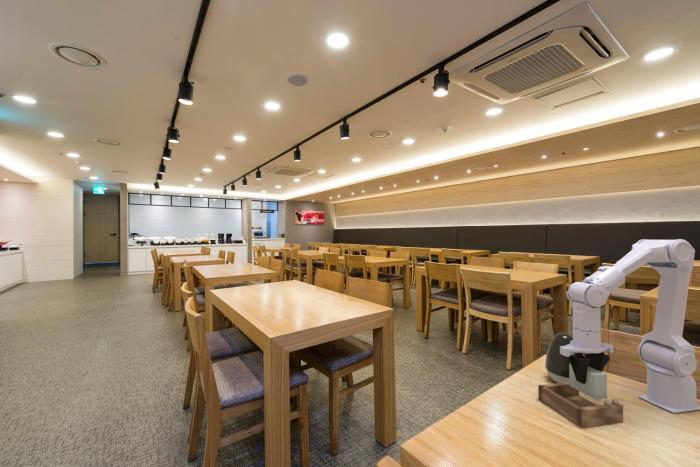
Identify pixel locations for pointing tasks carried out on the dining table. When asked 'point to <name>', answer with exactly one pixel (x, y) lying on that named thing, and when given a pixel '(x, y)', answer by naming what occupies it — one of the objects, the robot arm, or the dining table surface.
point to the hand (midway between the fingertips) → (587, 381)
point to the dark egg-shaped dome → (558, 358)
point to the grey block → (591, 383)
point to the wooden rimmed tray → (579, 406)
